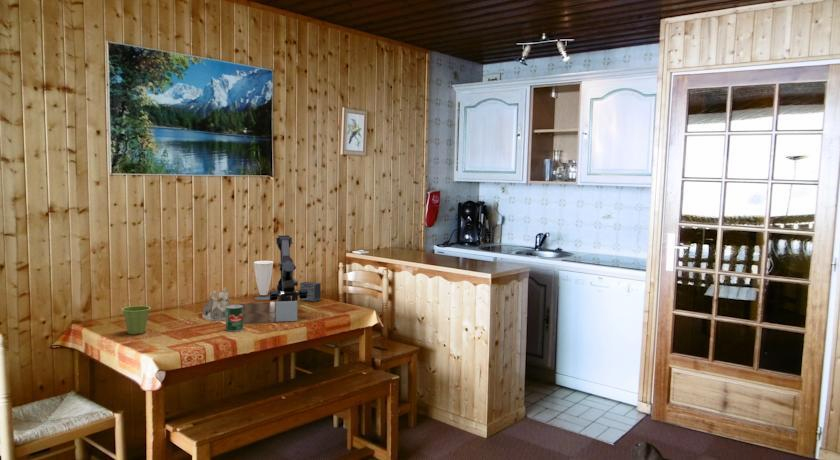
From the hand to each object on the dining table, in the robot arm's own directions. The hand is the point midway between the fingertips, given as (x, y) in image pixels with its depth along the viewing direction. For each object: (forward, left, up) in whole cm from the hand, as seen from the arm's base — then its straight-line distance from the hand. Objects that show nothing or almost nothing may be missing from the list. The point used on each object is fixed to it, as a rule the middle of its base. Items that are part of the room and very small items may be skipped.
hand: (289, 308), depth 297 cm
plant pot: (-43, -54, -6) cm, 69 cm away
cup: (-51, +35, -6) cm, 62 cm away
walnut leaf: (-11, -11, -6) cm, 17 cm away
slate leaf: (-2, -3, -6) cm, 7 cm away
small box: (-24, +45, -6) cm, 51 cm away
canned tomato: (-11, -26, -6) cm, 29 cm away
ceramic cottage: (-37, -14, -7) cm, 40 cm away
